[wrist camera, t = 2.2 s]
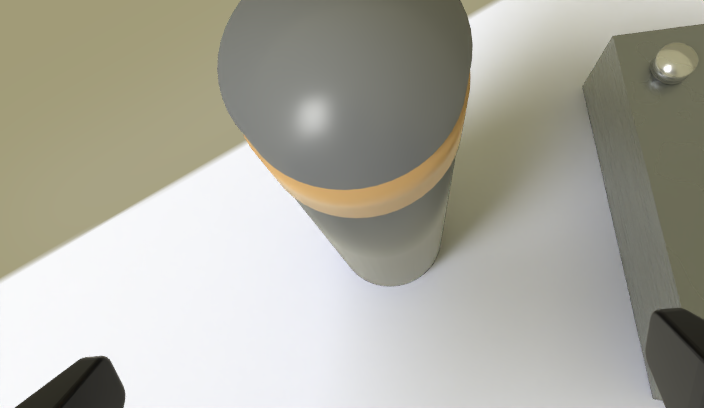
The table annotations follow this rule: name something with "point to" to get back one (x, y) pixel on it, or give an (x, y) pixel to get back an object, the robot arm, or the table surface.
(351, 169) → the plug
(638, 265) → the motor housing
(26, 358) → the table surface
